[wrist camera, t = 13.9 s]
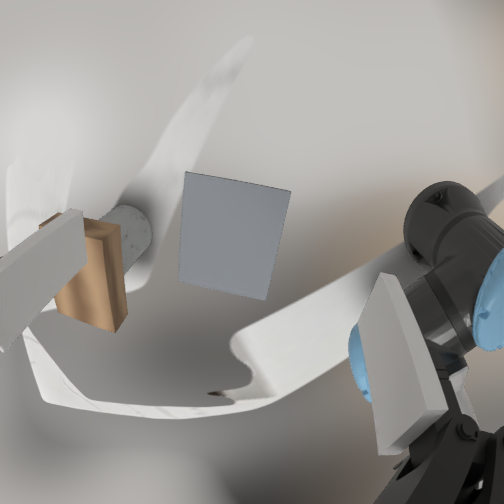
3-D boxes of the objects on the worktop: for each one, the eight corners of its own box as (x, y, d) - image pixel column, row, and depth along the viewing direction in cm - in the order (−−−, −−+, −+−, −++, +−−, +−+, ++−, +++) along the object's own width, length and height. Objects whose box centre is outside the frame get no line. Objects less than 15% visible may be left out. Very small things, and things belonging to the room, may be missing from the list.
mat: (291, 191, 44) (290, 192, 43) (265, 299, 53) (265, 300, 53) (185, 171, 44) (185, 172, 44) (178, 280, 54) (178, 281, 54)
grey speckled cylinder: (120, 258, 54) (87, 296, 43) (98, 213, 50) (57, 244, 39) (161, 247, 51) (129, 287, 40) (138, 197, 47) (98, 227, 36)
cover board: (120, 224, 36) (102, 240, 32) (128, 313, 43) (115, 333, 39) (58, 212, 36) (38, 225, 32) (72, 296, 43) (58, 312, 40)
